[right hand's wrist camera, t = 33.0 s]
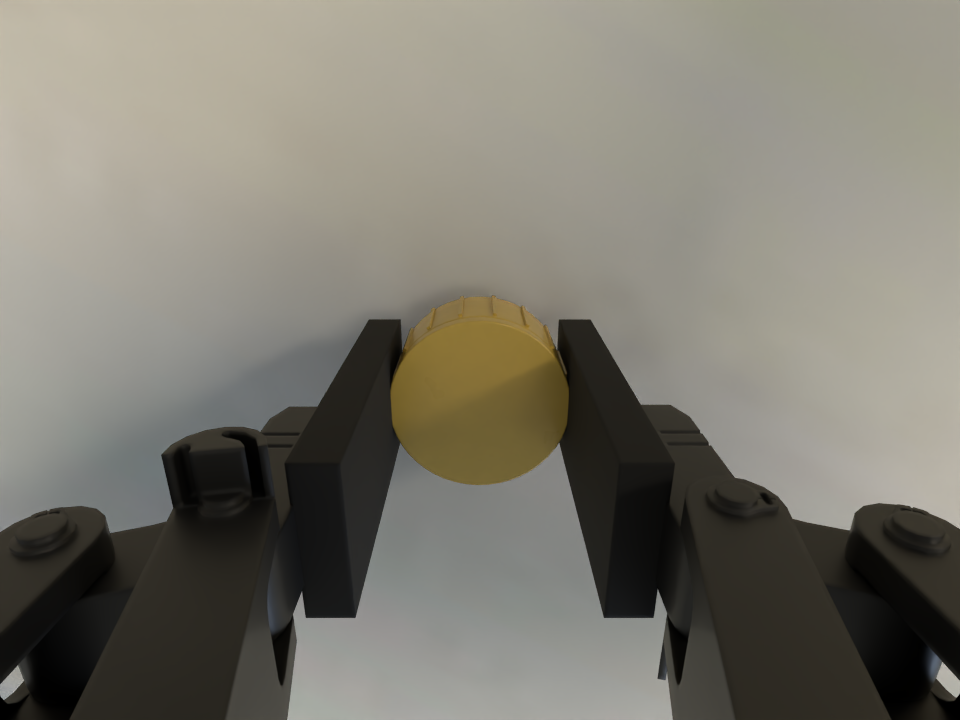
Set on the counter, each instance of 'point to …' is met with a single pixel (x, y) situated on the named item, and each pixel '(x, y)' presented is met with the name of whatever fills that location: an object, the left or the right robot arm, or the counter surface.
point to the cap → (479, 392)
